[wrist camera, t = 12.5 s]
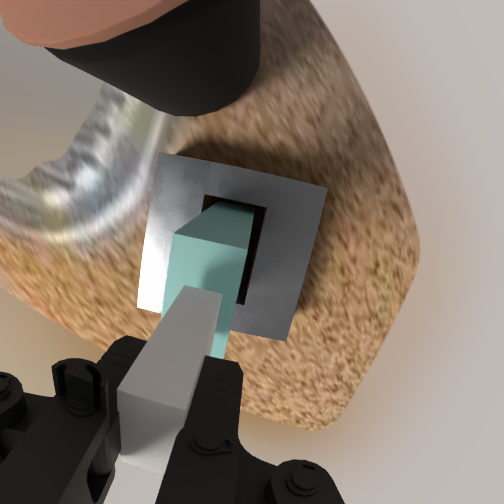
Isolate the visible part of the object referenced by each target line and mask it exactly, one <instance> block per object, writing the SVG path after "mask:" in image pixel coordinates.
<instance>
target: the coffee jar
mask: <svg viewBox="0 0 504 504" xmlns="http://www.w3.org/2000/svg"><path fill="white" fill-rule="evenodd" d="M0 12H1V16H2V19H3V23H4V26H5V28H6V29H7V30H8V31H9V32H10V33H12V34H13V35H14V36H16V37H17V38H18V39H19V40H21V41H22V42H23V43H26V44H30V45H33V46H40V47H44V48H45V49H47V50H48V51H49V52H51V53H52V54H53V55H55V56H56V57H57V58H59V59H60V60H62V61H64V62H66V63H68V64H70V65H73V66H75V67H77V68H79V69H81V70H83V71H85V72H87V73H89V74H91V75H93V76H95V77H97V78H99V79H101V80H103V81H105V82H107V83H109V84H111V85H112V86H114V87H116V88H118V89H120V90H122V91H124V92H126V93H128V94H130V95H131V96H133V97H135V98H137V99H139V100H141V101H142V102H144V103H146V104H148V105H150V106H152V107H153V108H155V109H157V110H159V111H162V112H165V113H168V114H171V115H174V116H200V115H204V114H207V113H211V112H215V111H218V110H220V109H221V108H223V107H225V106H226V105H228V104H230V103H231V102H233V101H235V100H236V99H237V98H238V97H239V96H240V95H241V94H242V93H243V92H244V91H245V90H246V89H247V88H248V87H249V85H250V84H251V82H252V80H253V78H254V76H255V74H256V72H257V69H258V67H259V59H260V0H0Z"/></svg>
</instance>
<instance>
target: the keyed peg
mask: <svg viewBox="0 0 504 504" xmlns="http://www.w3.org/2000/svg"><path fill="white" fill-rule="evenodd" d="M254 211H255V209H253V208H249V207H244V206H240V205H235V204H231V203H226V202H221V201H218V202H217V203H215V204H214V205H212V206H211V207H209V208H208V209H206V210H205V211H204V212H202V213H201V214H199V215H198V216H197V217H195V218H194V219H192V220H191V221H189V222H188V223H187V224H185V225H184V226H182V227H181V228H180V229H178V230H177V231H176V232H174V233H173V237H172V244H171V250H170V256H169V263H168V270H167V277H166V284H165V292H164V299H163V307H162V316H161V320H162V318H163V317H164V315H165V314H166V312H167V311H168V309H169V308H170V306H171V305H172V303H173V302H174V300H175V299H176V297H177V296H178V294H179V293H180V291H181V290H182V288H183V287H184V285H187V286H191V287H195V288H199V289H204V290H208V291H212V292H217V293H221V294H223V295H222V300H221V305H220V310H219V315H218V320H217V325H216V330H215V335H214V340H213V345H212V350H211V354H210V356H211V357H215V358H220V359H224V354H225V350H226V345H227V341H228V336H229V332H230V327H231V323H232V318H233V314H234V309H235V305H236V300H237V296H238V291H239V287H240V282H241V278H242V273H243V269H244V265H245V260H246V256H247V251H248V246H249V240H250V234H251V228H252V223H253V217H254Z"/></svg>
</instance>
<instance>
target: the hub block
mask: <svg viewBox="0 0 504 504" xmlns="http://www.w3.org/2000/svg"><path fill="white" fill-rule="evenodd" d="M327 190H328V188H325V187H321V186H318V185H314V184H310V183H306V182H302V181H298V180H294V179H289V178H285V177H281V176H277V175H273V174H268V173H264V172H259V171H255V170H250V169H246V168H241V167H236V166H231V165H226V164H221V163H216V162H211V161H206V160H201V159H195V158H190V157H184V156H179V155H173V154H167V153H161V152H160V153H159V158H158V163H157V168H156V173H155V179H154V184H153V190H152V195H151V201H150V207H149V214H148V220H147V227H146V234H145V241H144V249H143V256H142V265H141V273H140V283H139V293H138V304H137V307H139V308H142V309H146V310H150V311H153V312H157V313H161V314H162V307H163V299H164V292H165V284H166V277H167V270H168V263H169V256H170V250H171V244H172V237H173V233H174V232H176V231H177V230H178V229H180V228H181V227H182V226H184V225H185V224H187V223H188V222H189V221H191V220H192V219H194V218H195V217H197V216H198V215H199V214H201V213H202V212H204V211H205V210H206V209H208V208H209V207H210V203H211V198H212V196H216V197H221V198H226V199H231V200H235V201H240V202H244V203H249V204H253V205H258V206H262V207H265V209H264V214H263V218H262V222H261V227H260V231H259V235H258V240H257V244H256V248H255V253H254V257H253V261H252V266H251V270H250V274H249V279H248V283H247V287H245V286H240V287H239V291H238V296H237V300H236V305H235V309H234V314H233V318H232V323H231V327H230V330H232V331H237V332H241V333H246V334H251V335H256V336H261V337H266V338H271V339H276V340H282V341H286V339H287V336H288V333H289V329H290V326H291V323H292V319H293V316H294V313H295V309H296V306H297V303H298V299H299V296H300V292H301V289H302V285H303V282H304V278H305V275H306V271H307V268H308V264H309V260H310V257H311V253H312V249H313V245H314V242H315V238H316V234H317V230H318V226H319V223H320V219H321V215H322V211H323V207H324V203H325V199H326V195H327Z"/></svg>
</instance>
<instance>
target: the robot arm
mask: <svg viewBox="0 0 504 504" xmlns="http://www.w3.org/2000/svg"><path fill="white" fill-rule="evenodd" d="M222 295H223V294H221V293H217V292H212V291H208V290H204V289H199V288H195V287H191V286H187V285H184V287H183V288H182V290H181V291H180V293H179V294H178V296H177V297H176V299H175V300H174V302H173V303H172V305H171V306H170V308H169V309H168V311H167V312H166V314H165V315H164V317H163V318H162V320H161V321H160V323H159V324H158V326H157V327H156V329H155V331H154V332H153V334H152V335H151V337H150V338H149V340H148V341H145V340H141V339H138V338H135V337H131V336H128V335H126V336H124V337H122V338H120V339H118V340H116V341H114V342H113V344H112V345H111V346H110V347H109V348H108V350H107V352H105V353H104V355H103V356H102V357H101V360H99V361H98V362H97V363H94V362H92V361H89V360H85V359H80V358H69V359H65V360H61V361H58V362H57V363H55V364H54V365H53V366H52V374H53V381H54V387H55V392H56V395H55V396H54V397H46V396H40V395H34V394H30V393H25V392H23V388H22V384H21V383H20V381H19V380H18V379H17V378H16V377H14V376H13V375H11V374H9V373H5V372H0V504H103V503H104V500H105V498H106V495H107V493H108V491H109V488H110V486H111V484H112V482H113V479H114V476H115V465H114V464H115V462H116V460H117V457H118V455H119V453H120V455H121V462H123V463H126V464H129V465H132V466H135V467H138V468H142V469H145V470H148V471H152V472H155V473H158V474H162V475H164V477H163V480H162V483H161V486H160V489H159V493H158V496H157V499H156V503H155V504H345V503H344V501H343V499H342V497H341V495H340V493H339V491H338V489H337V487H336V485H335V483H334V481H333V479H332V477H331V476H330V475H329V473H328V472H327V471H326V470H325V469H324V468H322V467H321V466H319V465H318V464H316V463H313V462H309V461H307V460H295V459H294V460H290V461H285V462H283V463H281V464H280V465H278V466H275V465H272V464H270V463H267V462H265V461H262V460H260V459H258V458H256V457H254V456H252V455H251V454H250V453H249V452H247V451H246V450H245V449H244V448H243V446H242V445H241V443H240V441H239V438H238V424H239V414H240V404H241V394H242V384H243V374H244V373H243V371H242V370H241V368H240V366H239V364H238V362H234V361H229V360H224V359H220V358H215V357H211V356H210V354H211V350H212V345H213V340H214V335H215V330H216V325H217V320H218V315H219V310H220V305H221V300H222Z"/></svg>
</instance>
